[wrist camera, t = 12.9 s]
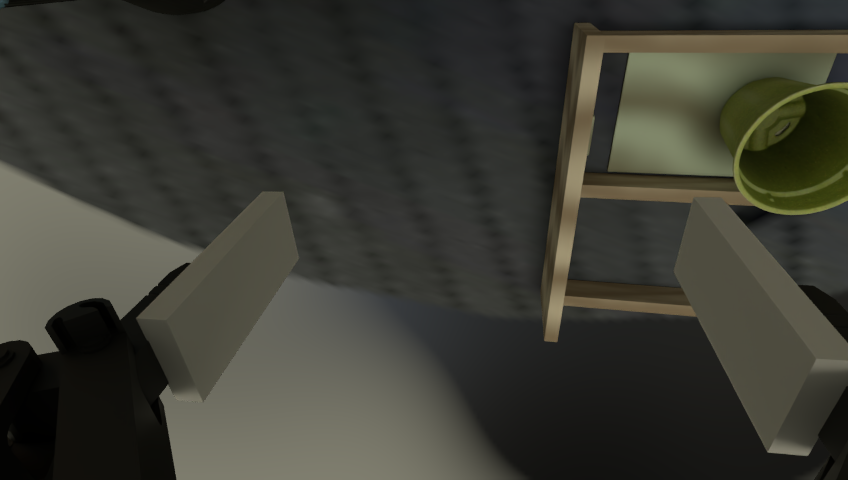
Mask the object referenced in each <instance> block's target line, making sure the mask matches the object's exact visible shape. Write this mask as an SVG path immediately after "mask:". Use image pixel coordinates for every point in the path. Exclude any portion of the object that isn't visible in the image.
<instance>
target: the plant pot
mask: <svg viewBox="0 0 848 480" xmlns="http://www.w3.org/2000/svg"><path fill="white" fill-rule="evenodd" d="M788 122H790V126H789V127H788V128H787V129H786V130H785V131H784V132H783V133H782V134H780V135H778V136H775V134H776V133H777V132H778V131H780V130H781V129H783V128H784V127H785V126H786V125H787V124H788ZM720 133H721V135H722V137H723V139H724V142H725V144H726V145H727V147H728V149H729V151H730V153H731V155H732V157H733V177H734V181H735V183H736V186H737V188H738V189H739V191H740V193H741V194H742V195H743V196H744V197H745V198H746V199H747V200H748V201H749V202H750V203H752V204H753V205H755V206H757V207H759V208H761V209H763V210H766V211H769V212H772V213H778V214H787V215H798V214H810V213H814V212H819V211H823V210H826V209H829V208H832V207H834V206H837V205H839V204H841V203H843V202H845V201H848V82H834V83H825V84H819V85H814V84H809V83H804V82H799V81H795V80H790V79H786V78H781V77H772V78H765V79H761V80H757V81H753V82H751V83H749V84H747V85H745V86H743V87H742V88H741V89H739V90H738V91H737V92H735V93H734V94H733V95H732V96H731V97H730V99H729V100H728V101H727V103H726V104H725V106H724V107H723V109H722V112H721V116H720Z"/></svg>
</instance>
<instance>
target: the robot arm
mask: <svg viewBox="0 0 848 480" xmlns="http://www.w3.org/2000/svg"><path fill="white" fill-rule="evenodd" d="M64 1H75V0H0V9H1V8H4V7H14V6H24V5H34V4H44V3H54V2H64ZM123 1H126V2H129V3H131V4H134V5H136V6H139V7H142V8H144V9H147V10H150V11H153V12H157V13H162V14H170V15H183V14H190V13H197V12H202V11H206V10H209V9H211V8H213V7H215V6H217V5H219V4H220V3H222V2H223V1H224V0H123ZM298 259H299V257H298V252H297V248H296V244H295V239H294V235H293V231H292V227H291V222H290V218H289V214H288V210H287V205H286V201H285V197H284V192H262V193H261V194H260V195H259V196H258V197H257V198H256V199H255V200H254V201H253V202H252V203H251V204H250V205H249V206H248V207H247V208H246V209H245V210H244V211H243V212H242V213H241V214H240V215H239V216H238V217H237V218H236V219H235V220H234V221H233V222H232V223H231V224H230V225H229V226H228V227H227V228H226V229H225V230H224V231H223V232H222V233H221V234H220V235H219V236H218V237H217V238H216V239H215V240H214V241H213V242H212V243H211V244H210V245H209V246H208V247H207V248H206V249H205V250H204V251H203V252H202V253H201V254H200V255H199V256H198V257H197V258H196V259H195V260H194V261H193V262H192V263H185V264H184V265H182V266H180V267H179V268H177V269H175V270H173V271H172V272H170V273H169V274H168V275H167V276H166V277H165V278H164V279H163V280H162V281H161V282H160V283H159V284H158V286H156V287H154V288H153V289H152V290H151V291H150V292H149V295H148V296H145V297H144V298H143V299H142V300H141V301H140V302H139V303H138V304H137V305H136V306H135V307H134V308H133V309H132V310H131V311H130V312H128V313H127V315H125V316H124V317H123V318H122V319H121V320H119V317H118V315H117V314H116V312H115V310H114V308H113V306H112V304H111V302H110V301H109V300H106V299H103V298H94V299H88V300H84V301H80V302H77V303H75V304H72V305H70V306H67V307H66V308H64V309H62V310H61V311H59V312H57V313H56V314H55V315H54V316H53V317H52V318H51V319H50V320H49V321H48V322H47V324H46V326H45V329H46V330H47V332H48V334H49V335H50V337H51V339H52V340H53V342H54V343H55V345H56V346H57V348H58V349H59V351H58V352H52V353H46V354H41V355H37V354H36V353H35V351H34V350H33V348H32V347H31V345H30V344H29V343H28V342H26V341H21V340H18V341H9V342H6V343H2V344H0V480H176V474H175V469H174V463H173V457H172V451H171V446H170V440H169V434H168V428H167V423H166V417H165V411H164V405H163V403H162V401H161V400H160V397H159V395H160V394H161V393H162V391H163V390H164V389H165V388H166V386H167V385H169V387H170V389H171V391H172V393H173V395H174V397H175V399H176V400H182V401H192V402H193V401H194V402H204V400H205V399H206V397H207V396H208V394H209V393H210V391H211V390H212V388H213V387H214V385H215V384H216V382H217V381H218V379H219V378H220V376H221V375H222V373H223V372H224V370H225V369H226V367H227V366H228V364H229V363H230V361H231V360H232V358H233V357H234V355H235V354H236V352H237V351H238V349H239V348H240V346H241V345H242V343H243V342H244V340H245V339H246V337H247V336H248V334H249V333H250V331H251V330H252V328H253V327H254V325H255V324H256V322H257V321H258V319H259V317H260V316H261V315H262V313H263V312H264V310H265V309H266V307H267V306H268V304H269V303H270V301H271V300H272V298H273V297H274V295H275V294H276V292H277V291H278V289H279V288H280V286H281V285H282V283H283V282H284V280H285V279H286V277H287V276H288V274H289V273H290V271H291V270H292V268H293V267H294V265H295V264H296V262H297V261H298ZM674 274H675V276H676V277H677V279H678V281H679V283H680V285H681V287H682V289H683V291H684V293H685V295H686V297H687V299H688V301H689V302H690V304H691V306H692V308H693V310H694V312H695V314H696V316H697V318H698V320H699V322H700V323H701V325H702V327H703V329H704V331H705V333H706V335H707V337H708V339H709V341H710V343H711V345H712V347H713V348H714V350H715V352H716V354H717V356H718V358H719V360H720V362H721V364H722V366H723V368H724V369H725V371H726V373H727V375H728V377H729V379H730V381H731V383H732V385H733V387H734V389H735V391H736V393H737V394H738V396H739V398H740V400H741V402H742V404H743V406H744V408H745V410H746V412H747V414H748V415H749V417H750V419H751V421H752V423H753V425H754V427H755V429H756V431H757V433H758V435H759V437H760V439H761V440H762V442H763V444H764V446H765V448H766V450H767V452H770V453H782V454H792V455H804V456H808V455H809V453H810V451H811V449H812V448H813V446H814V444H815V443H816V441H817V439H818V438H820V439H821V441H822V442H823V444H824V445H825V447H826V449H827V450H828V452H829V453H830V456H829V457H828V459H827V461H826V462H825V464H824V465H823V467H822V469H821V470H820V472H819V473H818V475H817V476H816V478H815V479H814V480H848V312H847V311H846V310H845V309H844V308H843V307H842V306H841V305H840V304H839V303H838V302H837V301H836V300H835V299H834V298H832V297H831V296H829V295H827V294H826V293H824V292H823V291H821V290H819V289H818V288H816V287H815V286H808V285H797V284H796V283H795V282H794V281H793V279H792V278H791V277H790V276H789V275H788V274H787V273H786V271H785V270H784V269H783V268H782V267H781V266H780V264H779V263H778V262H777V261H776V260H775V259H774V258H773V256H772V255H771V254H770V253H769V252H768V251H767V250H766V248H765V247H764V246H763V245H762V244H761V243H760V241H759V240H758V239H757V238H756V237H755V236H754V235H753V233H752V232H751V231H750V230H749V229H748V228H747V227H746V225H745V224H744V223H743V222H742V221H741V220H740V218H739V217H738V216H737V215H736V214H735V213H734V212H733V210H732V209H731V208H730V207H729V206H728V205H727V204H726V202H725V201H724V200H723V199H722V198H721V197H694V198H693V201H692V205H691V209H690V213H689V216H688V220H687V224H686V228H685V231H684V235H683V239H682V242H681V246H680V250H679V254H678V257H677V261H676V265H675V269H674Z"/></svg>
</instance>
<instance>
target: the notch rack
mask: <svg viewBox="0 0 848 480" xmlns="http://www.w3.org/2000/svg"><path fill="white" fill-rule="evenodd" d="M603 53H629V54H628V60H627V65H626V71H625V76H624V81H623V87H622V92H621V98H620V103H619V108H618V114H617V119H616V125H615V130H614V136H613V141H612V146H611V152H610V157H609V163H608V168H607V171H608V172H631V173H656V174H681V175H706V176H731V177H733V157H732V155H731V153H730V151H729V149H728V147H727V145H726V144H725V142H724V139H723V137H722V135H721V133H720V116H721V112H722V109H723V107H724V106H725V104H726V103H727V101H728V100H729V99H730V97H731V96H732V95H733V94H734V93H735V92H737V91H738V90H739V89H741V88H742V87H743V86H745V85H747V84H749V83H751V82H753V81H757V80H761V79H765V78H772V77H781V78H786V79H790V80H795V81H799V82H804V83H809V84H814V85H819V84H825V83H826V80H827V78H828V75H829V72H830V70H831V67H832V65H833V62H834V60H835V57H836V55H837V53H848V30H683V31H600V30H598V29H597V28H596V27H594V26H593V25H592V24H591V23H574V30H573V38H572V46H571V54H570V61H569V69H568V77H567V85H566V93H565V101H564V109H563V117H562V125H561V133H560V141H559V149H558V157H557V165H556V173H555V181H554V188H553V196H552V204H551V212H550V220H549V228H548V236H547V244H546V252H545V260H544V268H543V276H542V284H541V304H542V317H543V331H544V341H551V342H557V340H558V334H559V327H560V321H561V315H562V309H563V305H566V306H578V307H589V308H601V309H613V310H625V311H637V312H649V313H661V314H673V315H685V316H696V314H695V312H694V310H693V308H692V306H691V304H690V302H689V301H688V299H687V297H686V295H685V293H684V291H683V289H682V288H673V287H660V286H647V285H634V284H621V283H607V282H594V281H581V280H568V279H567V277H568V271H569V265H570V258H571V252H572V246H573V239H574V233H575V227H576V220H577V214H578V208H579V202H580V197H585V198H605V199H626V200H646V201H667V202H687V203H692V201H693V198H694V197H721V198H722V199H723V200H724V201H725V202H726V204H728V205H748V206H755V205H753V204H752V203H750V202H749V201H748V200H747V199H746V198H745V197H744V196H743V195H742V194H741V193H740V191H739V189H738V188H737V186H736V183H735V181H734V179H732V178H708V177H683V176H659V175H634V174H610V173H586V172H584V170H585V164H586V157H587V155H589V150H590V144H591V138H592V132H593V125H594V119H595V116H594V114H593V113H594V107H595V101H596V94H597V88H598V82H599V75H600V69H601V63H602V57H603ZM789 126H790V122H788V124H787V125H786V126H785V127H784V128H783V129H781V130H780V131H778V132H777V133H776V134H775V136H778V135H780V134H782V133H783V132H784V131H785V130H786V129H787V128H788V127H789ZM696 317H697V316H696Z"/></svg>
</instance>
